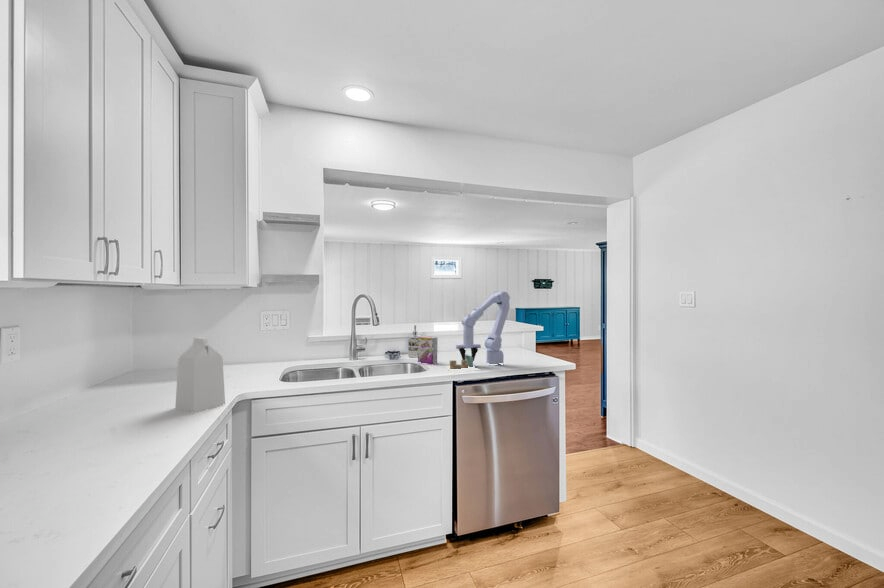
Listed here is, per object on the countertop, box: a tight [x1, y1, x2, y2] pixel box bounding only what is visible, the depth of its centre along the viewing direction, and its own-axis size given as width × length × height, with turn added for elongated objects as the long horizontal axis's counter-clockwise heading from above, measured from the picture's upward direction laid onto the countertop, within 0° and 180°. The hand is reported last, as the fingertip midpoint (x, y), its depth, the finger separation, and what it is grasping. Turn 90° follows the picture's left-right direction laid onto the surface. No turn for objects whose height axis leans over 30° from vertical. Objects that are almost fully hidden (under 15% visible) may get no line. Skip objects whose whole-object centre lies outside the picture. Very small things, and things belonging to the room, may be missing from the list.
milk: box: [174, 337, 226, 414], centre depth 142 cm, size 12×12×26 cm
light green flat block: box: [465, 353, 474, 367], centre depth 215 cm, size 2×10×6 cm, turn 17°
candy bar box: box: [417, 335, 438, 365], centre depth 224 cm, size 11×5×16 cm, turn 58°
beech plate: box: [449, 359, 468, 369], centre depth 206 cm, size 10×2×5 cm, turn 107°
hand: (468, 361), depth 215 cm, fingers open, 5 cm apart
